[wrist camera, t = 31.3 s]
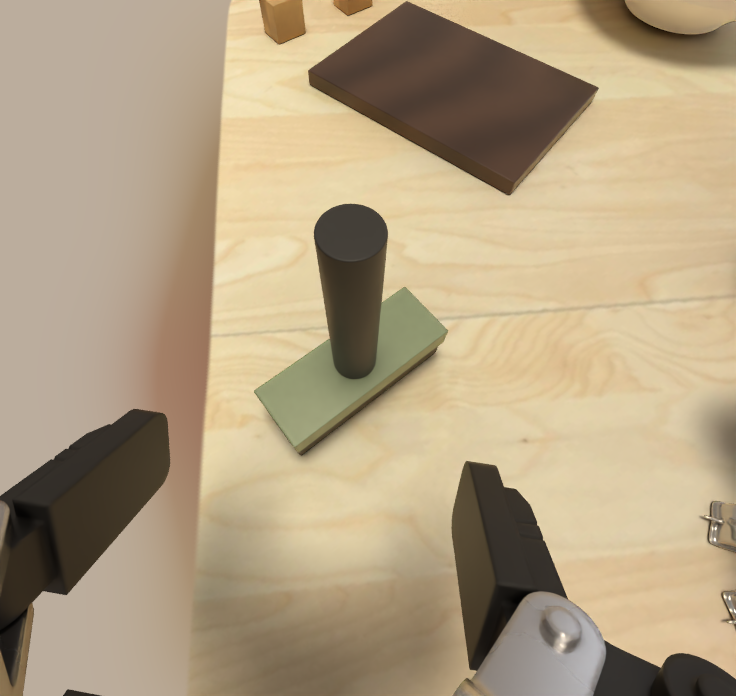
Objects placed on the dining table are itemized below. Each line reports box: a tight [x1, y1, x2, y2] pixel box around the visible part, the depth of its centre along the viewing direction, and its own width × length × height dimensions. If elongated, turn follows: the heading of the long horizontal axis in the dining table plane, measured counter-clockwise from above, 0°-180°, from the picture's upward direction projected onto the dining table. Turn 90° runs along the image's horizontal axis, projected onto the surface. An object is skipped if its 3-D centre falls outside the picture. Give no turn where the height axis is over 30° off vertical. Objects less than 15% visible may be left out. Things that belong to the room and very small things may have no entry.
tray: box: [308, 1, 599, 195], centre depth 34 cm, size 20×14×1 cm
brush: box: [254, 204, 448, 455], centre depth 18 cm, size 4×10×13 cm, turn 129°
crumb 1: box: [259, 0, 306, 44], centre depth 37 cm, size 3×3×2 cm
